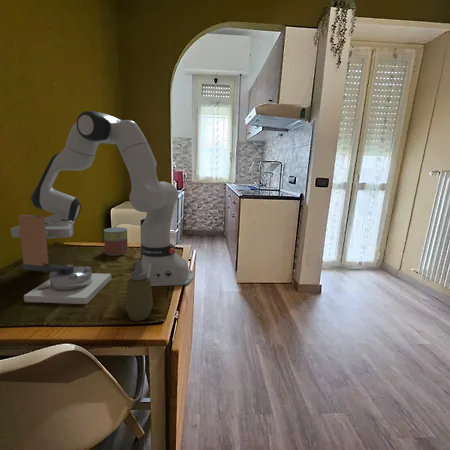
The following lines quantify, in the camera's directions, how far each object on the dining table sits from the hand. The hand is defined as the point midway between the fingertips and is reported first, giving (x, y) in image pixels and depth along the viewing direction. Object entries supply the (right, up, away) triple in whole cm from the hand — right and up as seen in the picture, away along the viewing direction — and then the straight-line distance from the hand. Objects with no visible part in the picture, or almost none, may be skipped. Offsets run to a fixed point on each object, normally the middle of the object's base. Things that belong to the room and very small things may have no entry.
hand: (32, 236), depth 97 cm
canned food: (+13, -10, +43) cm, 46 cm away
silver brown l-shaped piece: (+9, -16, 0) cm, 19 cm away
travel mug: (+31, -12, +37) cm, 50 cm away
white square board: (+15, -19, 0) cm, 24 cm away
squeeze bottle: (+44, -24, -15) cm, 52 cm away
